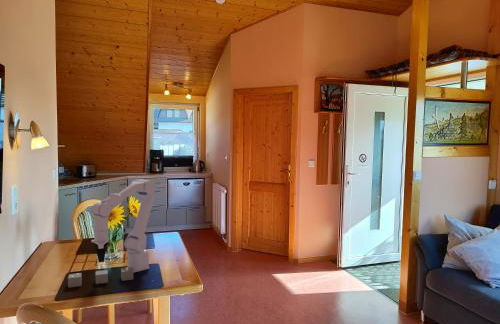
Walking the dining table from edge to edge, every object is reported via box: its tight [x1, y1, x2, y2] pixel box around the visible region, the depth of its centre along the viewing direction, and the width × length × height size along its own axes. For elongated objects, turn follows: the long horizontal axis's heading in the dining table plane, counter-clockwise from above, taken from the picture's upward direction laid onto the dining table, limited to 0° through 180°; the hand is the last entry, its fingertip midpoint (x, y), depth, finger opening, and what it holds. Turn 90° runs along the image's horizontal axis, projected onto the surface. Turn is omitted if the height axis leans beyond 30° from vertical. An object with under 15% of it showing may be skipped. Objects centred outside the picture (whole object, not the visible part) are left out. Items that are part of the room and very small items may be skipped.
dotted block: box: [67, 272, 83, 289], centre depth 157 cm, size 5×5×4 cm
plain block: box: [95, 269, 109, 285], centre depth 161 cm, size 5×5×4 cm
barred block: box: [120, 267, 134, 282], centre depth 165 cm, size 5×5×4 cm
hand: (101, 260), depth 161 cm, fingers open, 4 cm apart
